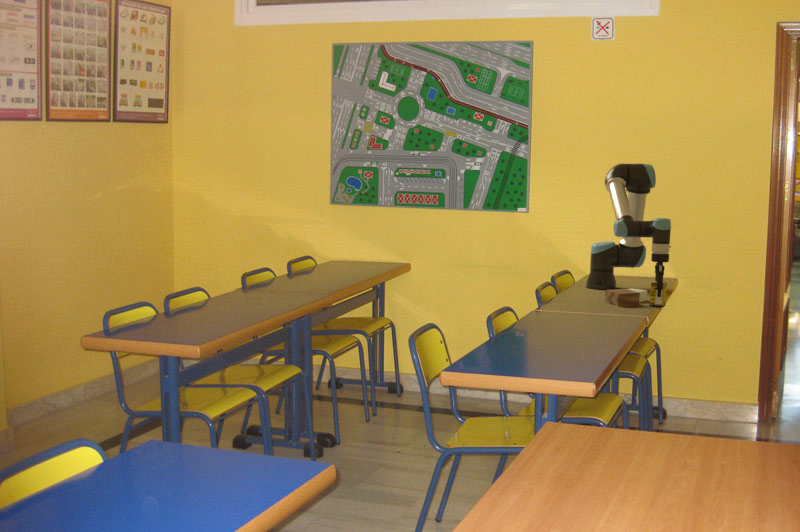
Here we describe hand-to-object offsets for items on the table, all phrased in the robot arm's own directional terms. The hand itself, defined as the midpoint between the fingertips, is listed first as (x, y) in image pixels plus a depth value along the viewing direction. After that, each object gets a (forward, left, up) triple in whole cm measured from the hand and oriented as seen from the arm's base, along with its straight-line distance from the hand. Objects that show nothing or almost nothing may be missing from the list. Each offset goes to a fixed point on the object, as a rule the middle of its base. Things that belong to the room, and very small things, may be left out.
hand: (657, 302), depth 388 cm
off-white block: (-16, 0, -2) cm, 16 cm away
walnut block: (-10, -12, -2) cm, 16 cm away
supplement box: (0, 0, -2) cm, 2 cm away
